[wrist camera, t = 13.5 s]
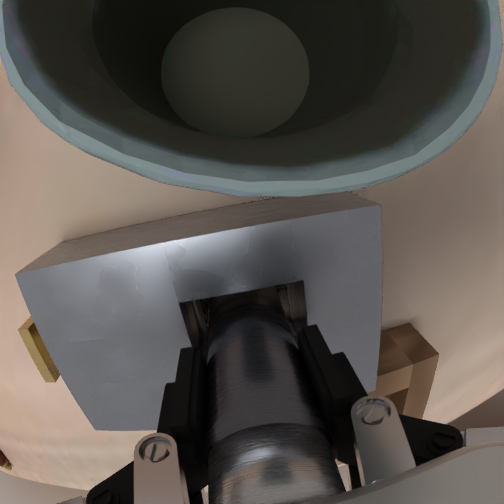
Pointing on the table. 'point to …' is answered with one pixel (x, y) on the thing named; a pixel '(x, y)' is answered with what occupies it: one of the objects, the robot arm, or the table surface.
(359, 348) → the socket block
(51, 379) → the wooden t-shaped peg
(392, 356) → the wooden frame
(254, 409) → the metal cylinder peg
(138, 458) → the robot arm
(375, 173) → the green cup
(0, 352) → the table surface
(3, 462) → the gavel
